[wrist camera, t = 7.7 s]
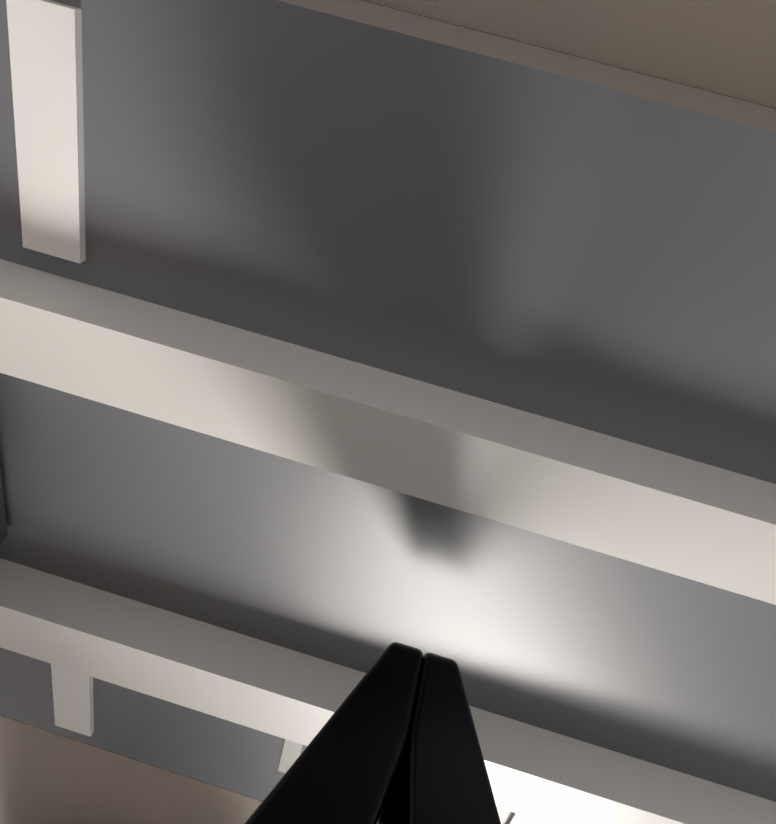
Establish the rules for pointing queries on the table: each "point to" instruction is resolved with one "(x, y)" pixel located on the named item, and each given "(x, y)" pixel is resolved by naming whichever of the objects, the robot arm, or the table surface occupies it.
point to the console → (386, 398)
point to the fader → (2, 512)
